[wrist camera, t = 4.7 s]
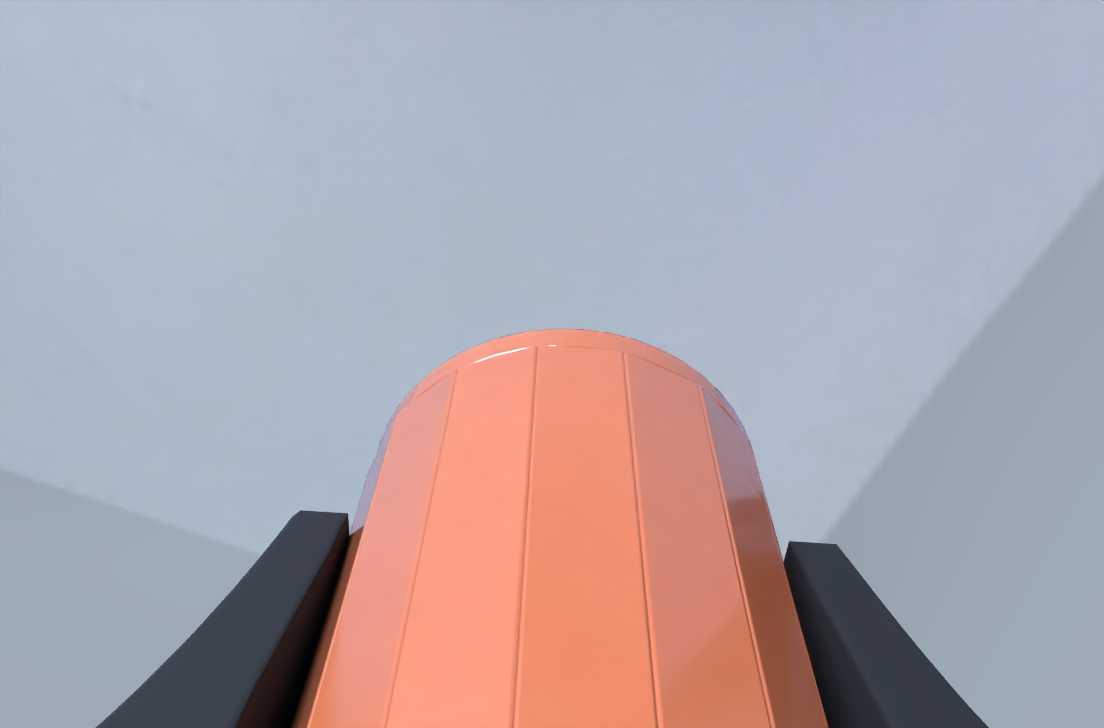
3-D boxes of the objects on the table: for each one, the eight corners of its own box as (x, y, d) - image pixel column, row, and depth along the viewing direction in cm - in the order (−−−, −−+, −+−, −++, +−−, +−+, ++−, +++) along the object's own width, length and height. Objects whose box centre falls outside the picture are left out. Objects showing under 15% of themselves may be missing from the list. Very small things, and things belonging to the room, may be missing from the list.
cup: (790, 340, 12) (996, 854, 6) (721, 634, 15) (818, 1174, 9) (368, 312, 12) (172, 807, 6) (381, 613, 15) (257, 1146, 9)
